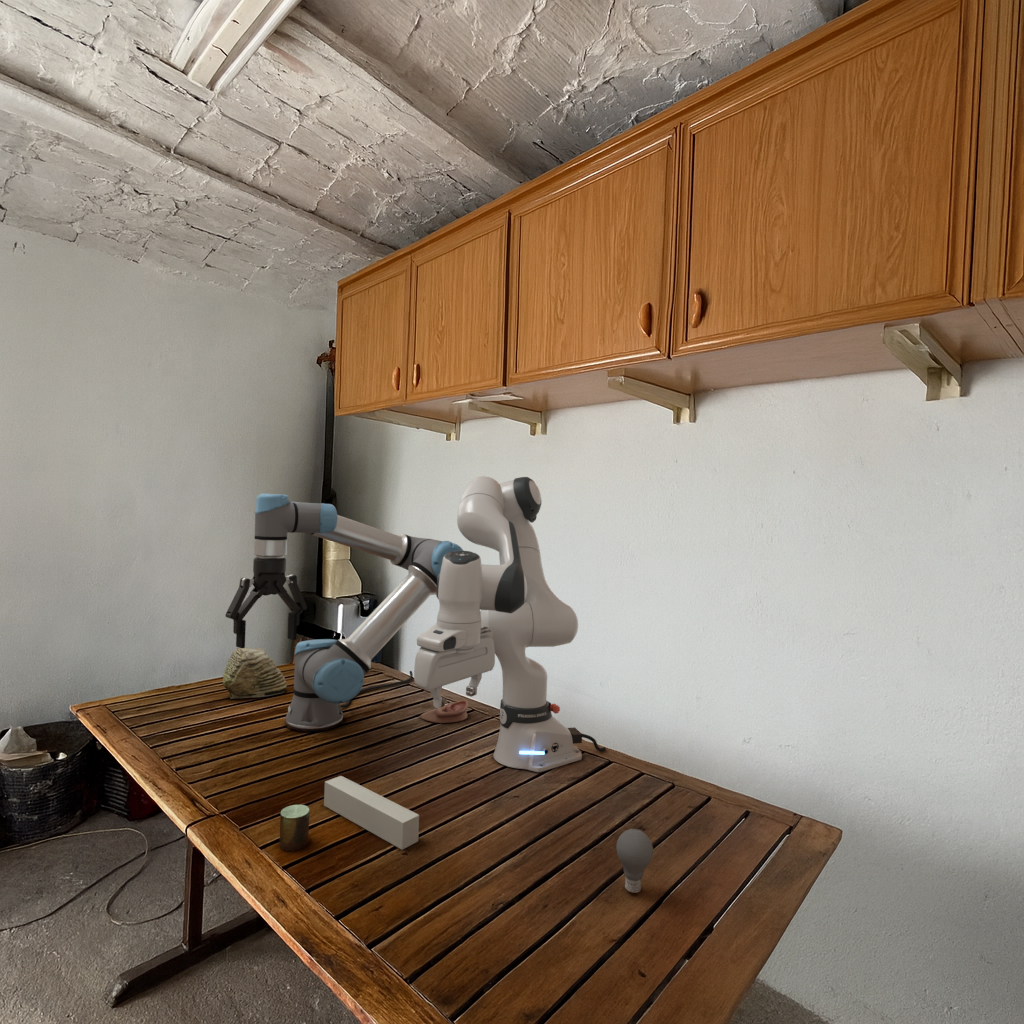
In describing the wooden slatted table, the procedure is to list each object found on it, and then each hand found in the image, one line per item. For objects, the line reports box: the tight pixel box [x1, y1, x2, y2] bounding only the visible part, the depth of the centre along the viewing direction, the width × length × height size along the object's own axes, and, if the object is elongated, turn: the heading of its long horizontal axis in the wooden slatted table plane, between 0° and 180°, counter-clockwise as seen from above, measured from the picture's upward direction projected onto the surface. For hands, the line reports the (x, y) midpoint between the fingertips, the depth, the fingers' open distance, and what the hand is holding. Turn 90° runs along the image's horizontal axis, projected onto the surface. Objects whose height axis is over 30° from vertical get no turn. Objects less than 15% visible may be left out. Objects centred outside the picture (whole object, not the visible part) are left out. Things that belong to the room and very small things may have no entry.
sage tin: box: [278, 804, 310, 852], centre depth 116 cm, size 5×5×6 cm
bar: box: [323, 775, 420, 851], centre depth 124 cm, size 4×24×5 cm, turn 51°
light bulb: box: [615, 828, 654, 894], centre depth 106 cm, size 6×6×10 cm
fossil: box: [222, 646, 288, 699], centre depth 198 cm, size 9×18×15 cm, turn 132°
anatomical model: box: [419, 699, 469, 724], centre depth 185 cm, size 13×4×12 cm
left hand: (266, 643), depth 155 cm, fingers open, 13 cm apart
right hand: (455, 700), depth 127 cm, fingers open, 8 cm apart
